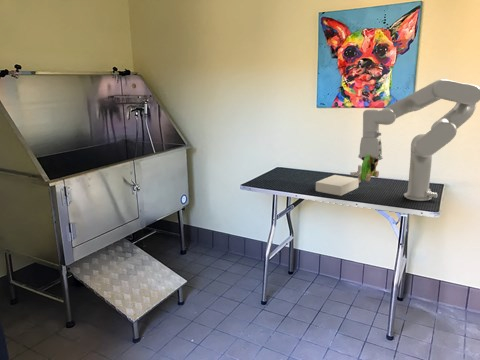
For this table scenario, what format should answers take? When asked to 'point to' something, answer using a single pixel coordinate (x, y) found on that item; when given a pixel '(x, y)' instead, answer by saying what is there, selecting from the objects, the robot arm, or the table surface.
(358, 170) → the pipe connector
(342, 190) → the cream step
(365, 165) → the toy lion
